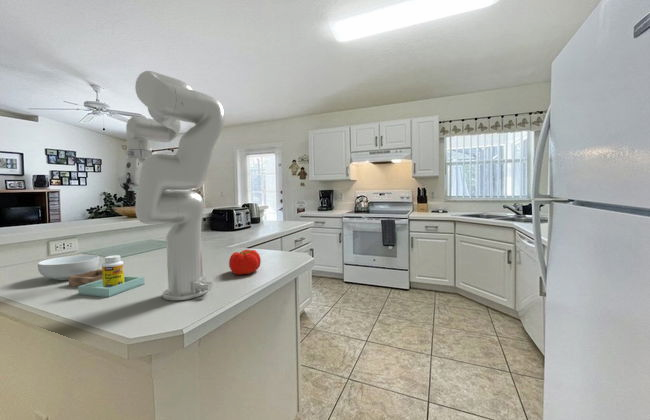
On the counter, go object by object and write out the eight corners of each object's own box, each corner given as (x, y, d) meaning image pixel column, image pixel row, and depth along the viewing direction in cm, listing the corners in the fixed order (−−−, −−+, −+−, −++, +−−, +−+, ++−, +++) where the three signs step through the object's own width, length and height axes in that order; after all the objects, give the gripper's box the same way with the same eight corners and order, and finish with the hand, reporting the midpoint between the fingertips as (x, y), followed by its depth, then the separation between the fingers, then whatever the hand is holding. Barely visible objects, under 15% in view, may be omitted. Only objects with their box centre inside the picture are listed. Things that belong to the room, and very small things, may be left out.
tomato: (243, 267, 113) (243, 247, 112) (267, 270, 107) (266, 249, 107) (219, 275, 101) (219, 253, 101) (244, 279, 96) (244, 255, 95)
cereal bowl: (70, 284, 93) (69, 264, 93) (24, 284, 93) (22, 264, 93) (110, 270, 110) (110, 253, 110) (71, 271, 110) (70, 254, 110)
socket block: (120, 278, 99) (120, 270, 99) (91, 287, 89) (91, 278, 89) (99, 277, 101) (98, 269, 101) (68, 285, 91) (68, 277, 91)
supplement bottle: (102, 291, 83) (100, 259, 83) (104, 286, 88) (102, 256, 87) (124, 288, 87) (122, 256, 86) (125, 283, 91) (123, 253, 91)
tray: (144, 284, 92) (144, 277, 92) (109, 297, 80) (108, 288, 80) (116, 282, 94) (116, 275, 94) (78, 294, 83) (78, 286, 83)
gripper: (126, 151, 91) (128, 202, 92) (166, 158, 108) (168, 201, 109) (108, 153, 93) (111, 202, 93) (151, 159, 109) (153, 201, 110)
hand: (142, 201), depth 101 cm, fingers open, 9 cm apart
